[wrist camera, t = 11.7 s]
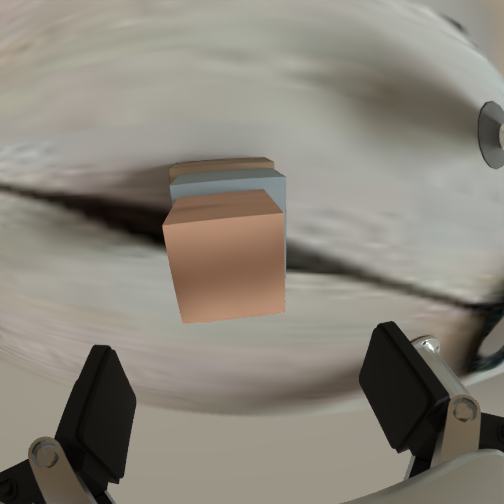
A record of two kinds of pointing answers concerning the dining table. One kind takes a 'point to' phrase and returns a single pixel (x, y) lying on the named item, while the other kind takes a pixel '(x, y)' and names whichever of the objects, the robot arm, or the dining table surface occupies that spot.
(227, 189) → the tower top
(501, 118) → the cup
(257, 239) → the terracotta cube
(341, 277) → the dining table surface
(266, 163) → the tower base
